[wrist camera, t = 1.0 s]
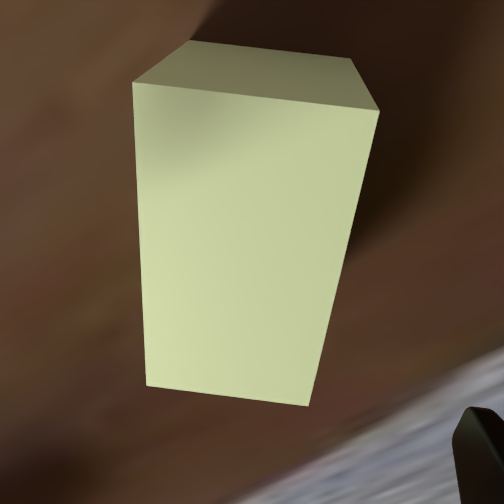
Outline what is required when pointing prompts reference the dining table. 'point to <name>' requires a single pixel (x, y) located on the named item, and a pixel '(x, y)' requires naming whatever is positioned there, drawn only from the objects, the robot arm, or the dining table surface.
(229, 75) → the green block
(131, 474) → the dining table surface
